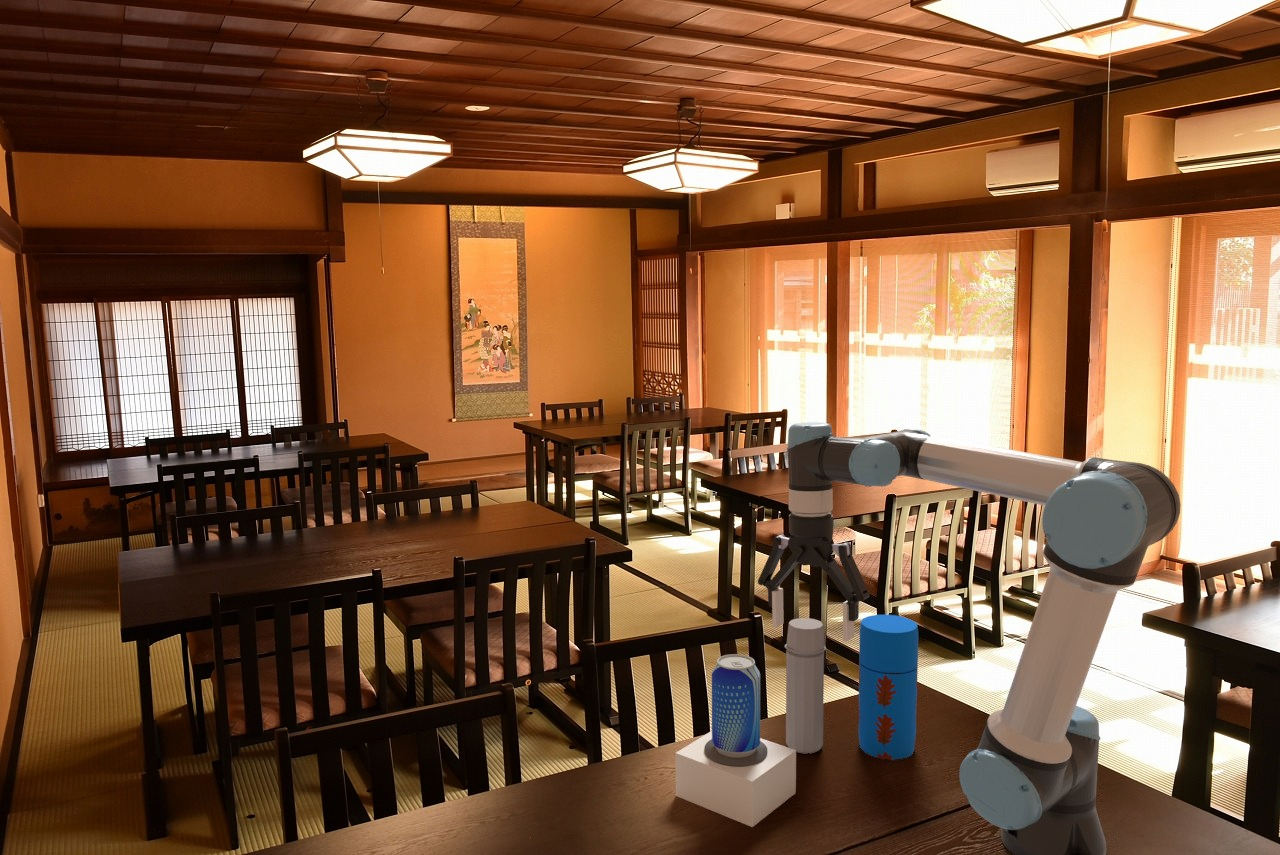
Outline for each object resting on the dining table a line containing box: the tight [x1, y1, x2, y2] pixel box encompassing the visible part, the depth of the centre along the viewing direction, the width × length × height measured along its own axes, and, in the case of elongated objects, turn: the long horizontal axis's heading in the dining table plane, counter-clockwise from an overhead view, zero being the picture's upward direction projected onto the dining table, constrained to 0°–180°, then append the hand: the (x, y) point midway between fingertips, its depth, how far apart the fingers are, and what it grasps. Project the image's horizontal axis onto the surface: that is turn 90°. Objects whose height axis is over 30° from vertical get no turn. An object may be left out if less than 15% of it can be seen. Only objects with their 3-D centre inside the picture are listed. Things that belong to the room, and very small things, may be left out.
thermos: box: [857, 614, 919, 761], centre depth 178 cm, size 11×11×25 cm
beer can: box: [711, 653, 761, 758], centre depth 161 cm, size 8×8×16 cm
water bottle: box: [784, 617, 827, 755], centre depth 179 cm, size 9×8×25 cm
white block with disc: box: [675, 730, 797, 828], centre depth 162 cm, size 16×14×8 cm
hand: (812, 631), depth 161 cm, fingers open, 13 cm apart
